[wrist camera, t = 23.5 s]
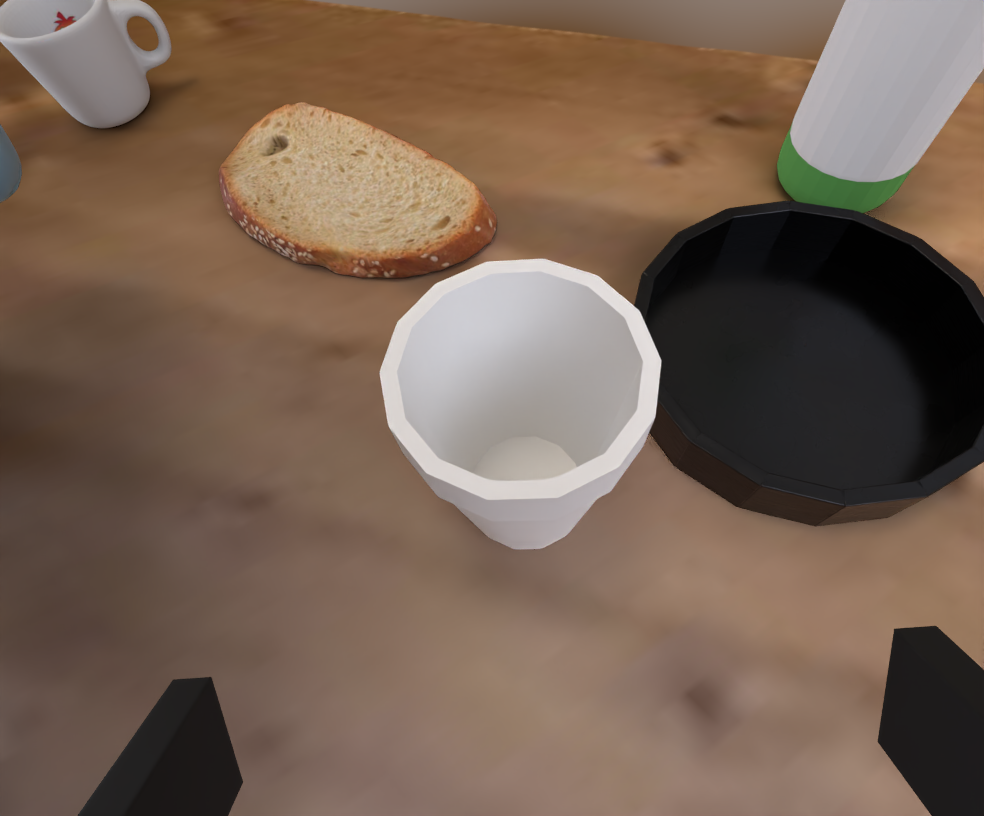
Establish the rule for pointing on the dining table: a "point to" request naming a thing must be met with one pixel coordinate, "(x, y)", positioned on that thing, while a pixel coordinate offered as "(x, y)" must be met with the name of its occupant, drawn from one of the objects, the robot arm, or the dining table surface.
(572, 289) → the foam cup
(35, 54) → the cup
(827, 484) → the pan
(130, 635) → the dining table surface
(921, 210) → the dining table surface
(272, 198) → the bread slice
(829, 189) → the wine bottle
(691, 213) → the dining table surface
